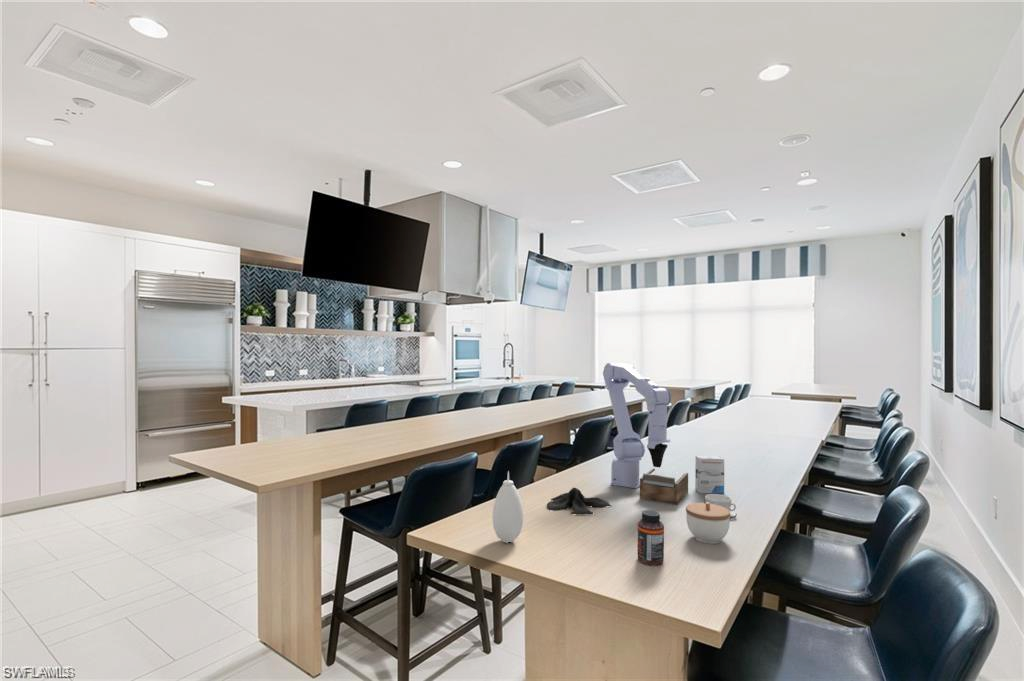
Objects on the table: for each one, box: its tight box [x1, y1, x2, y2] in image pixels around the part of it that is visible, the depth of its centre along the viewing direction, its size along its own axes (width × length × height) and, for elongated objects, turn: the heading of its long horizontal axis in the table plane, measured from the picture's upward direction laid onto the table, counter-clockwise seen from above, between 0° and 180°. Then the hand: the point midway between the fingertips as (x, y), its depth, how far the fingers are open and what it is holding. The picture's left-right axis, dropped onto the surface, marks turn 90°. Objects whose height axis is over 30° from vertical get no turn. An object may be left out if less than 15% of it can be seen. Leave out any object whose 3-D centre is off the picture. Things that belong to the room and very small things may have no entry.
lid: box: [642, 469, 685, 487], centre depth 168 cm, size 10×16×3 cm, turn 149°
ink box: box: [694, 455, 725, 495], centre depth 173 cm, size 8×5×12 cm, turn 84°
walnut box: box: [638, 468, 689, 506], centre depth 168 cm, size 12×16×6 cm
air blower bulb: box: [492, 470, 524, 543], centre depth 128 cm, size 8×8×18 cm
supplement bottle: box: [637, 509, 665, 566], centre depth 118 cm, size 6×6×11 cm
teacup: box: [704, 493, 737, 518], centre depth 152 cm, size 10×10×5 cm
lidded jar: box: [685, 501, 731, 545], centre depth 131 cm, size 11×11×9 cm
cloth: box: [546, 487, 612, 515], centre depth 158 cm, size 22×19×6 cm
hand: (657, 466), depth 165 cm, fingers closed
